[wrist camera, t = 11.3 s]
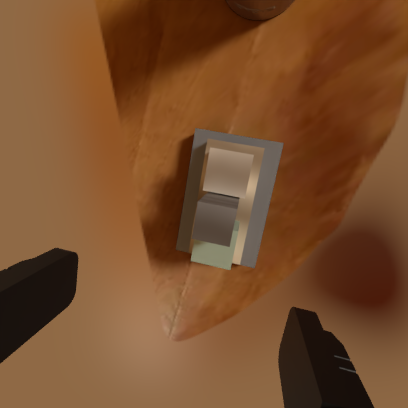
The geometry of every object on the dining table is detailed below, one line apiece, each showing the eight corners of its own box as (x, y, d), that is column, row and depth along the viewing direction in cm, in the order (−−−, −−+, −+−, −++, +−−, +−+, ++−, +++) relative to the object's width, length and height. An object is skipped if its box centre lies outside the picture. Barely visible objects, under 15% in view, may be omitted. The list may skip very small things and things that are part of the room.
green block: (204, 213, 29) (197, 222, 25) (239, 221, 29) (238, 231, 25) (198, 247, 30) (190, 260, 26) (232, 255, 30) (230, 270, 26)
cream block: (215, 148, 28) (209, 147, 24) (253, 155, 27) (253, 155, 23) (208, 185, 29) (202, 190, 25) (245, 192, 28) (244, 198, 24)
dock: (200, 130, 33) (195, 128, 30) (280, 144, 32) (283, 143, 29) (181, 242, 36) (175, 249, 33) (254, 258, 35) (254, 268, 32)
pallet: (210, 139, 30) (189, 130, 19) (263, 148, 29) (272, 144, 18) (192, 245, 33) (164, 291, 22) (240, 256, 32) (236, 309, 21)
